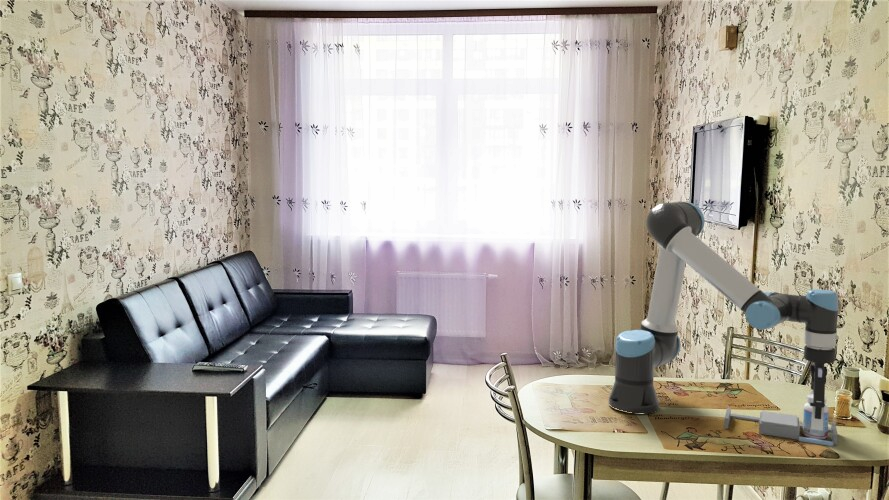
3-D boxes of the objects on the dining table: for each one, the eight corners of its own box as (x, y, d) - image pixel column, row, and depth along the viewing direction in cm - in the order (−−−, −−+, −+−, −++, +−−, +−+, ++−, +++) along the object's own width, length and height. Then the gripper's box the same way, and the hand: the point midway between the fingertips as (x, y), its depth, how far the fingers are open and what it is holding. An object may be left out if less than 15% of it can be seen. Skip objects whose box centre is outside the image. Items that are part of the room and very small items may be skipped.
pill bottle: (830, 440, 180) (833, 401, 178) (806, 439, 181) (808, 399, 180) (822, 432, 186) (825, 393, 184) (799, 431, 187) (801, 392, 186)
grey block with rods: (723, 429, 188) (724, 417, 188) (727, 414, 200) (727, 403, 199) (837, 446, 176) (838, 433, 175) (834, 430, 187) (834, 418, 187)
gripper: (839, 359, 168) (834, 439, 170) (832, 337, 190) (828, 409, 192) (805, 355, 171) (801, 434, 173) (803, 335, 193) (799, 405, 195)
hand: (815, 421), depth 183 cm, fingers open, 13 cm apart
